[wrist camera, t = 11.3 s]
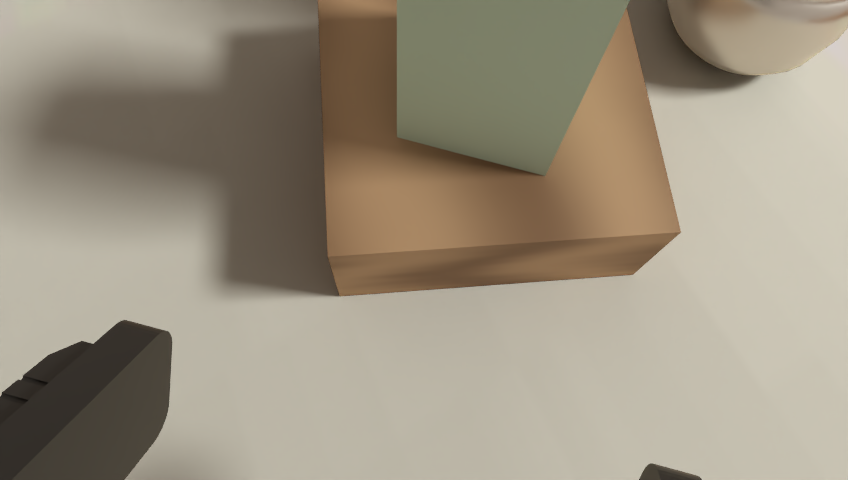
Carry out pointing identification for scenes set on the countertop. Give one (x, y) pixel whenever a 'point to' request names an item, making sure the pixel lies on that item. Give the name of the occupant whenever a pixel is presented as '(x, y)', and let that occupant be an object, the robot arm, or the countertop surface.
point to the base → (481, 178)
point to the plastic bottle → (758, 31)
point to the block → (498, 73)
